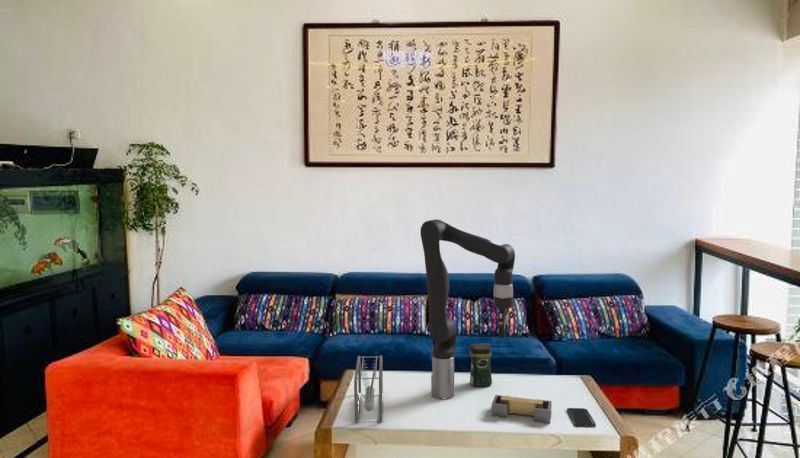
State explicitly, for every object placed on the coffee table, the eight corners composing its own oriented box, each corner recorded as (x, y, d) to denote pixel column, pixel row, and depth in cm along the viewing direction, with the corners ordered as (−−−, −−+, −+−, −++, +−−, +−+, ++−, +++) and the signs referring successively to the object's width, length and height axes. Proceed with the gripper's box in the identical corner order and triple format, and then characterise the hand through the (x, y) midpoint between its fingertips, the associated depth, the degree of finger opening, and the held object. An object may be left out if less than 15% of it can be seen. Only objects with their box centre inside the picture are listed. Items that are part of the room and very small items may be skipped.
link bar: (500, 411, 221) (500, 399, 221) (501, 407, 225) (501, 395, 224) (542, 416, 216) (542, 403, 216) (542, 412, 220) (543, 400, 219)
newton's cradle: (358, 394, 243) (357, 354, 242) (382, 393, 244) (382, 353, 242) (354, 425, 214) (353, 379, 212) (382, 424, 214) (381, 379, 212)
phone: (586, 408, 224) (596, 425, 209) (586, 411, 224) (596, 427, 209) (566, 408, 225) (574, 424, 210) (566, 410, 225) (574, 427, 210)
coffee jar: (489, 380, 257) (489, 340, 255) (493, 386, 249) (493, 346, 248) (468, 381, 256) (468, 341, 255) (472, 387, 249) (472, 347, 247)
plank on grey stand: (491, 416, 219) (491, 404, 219) (495, 406, 228) (495, 394, 228) (549, 423, 212) (550, 410, 212) (551, 413, 221) (551, 401, 221)
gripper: (496, 290, 230) (496, 329, 232) (490, 298, 217) (490, 339, 219) (515, 291, 228) (514, 330, 230) (510, 299, 215) (510, 340, 216)
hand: (503, 335), depth 224 cm, fingers open, 8 cm apart
